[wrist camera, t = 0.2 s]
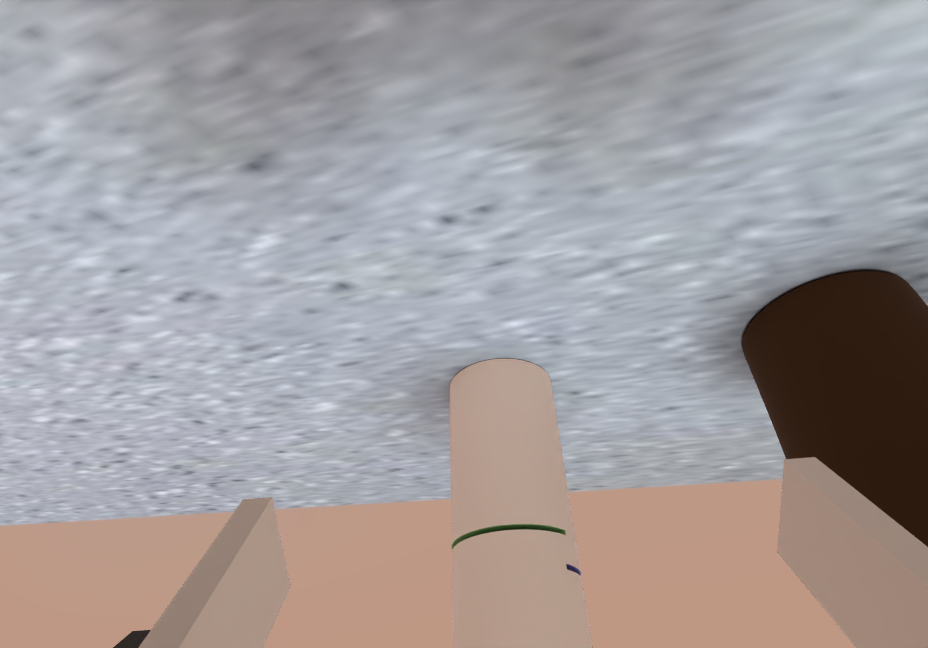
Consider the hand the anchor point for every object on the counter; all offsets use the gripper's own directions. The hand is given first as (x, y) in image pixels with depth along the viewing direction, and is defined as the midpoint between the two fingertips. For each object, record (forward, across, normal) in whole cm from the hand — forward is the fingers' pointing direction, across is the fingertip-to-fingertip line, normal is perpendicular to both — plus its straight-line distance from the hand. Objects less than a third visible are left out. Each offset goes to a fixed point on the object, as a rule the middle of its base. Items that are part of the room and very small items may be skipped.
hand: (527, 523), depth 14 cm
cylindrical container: (+23, 0, -6) cm, 24 cm away
